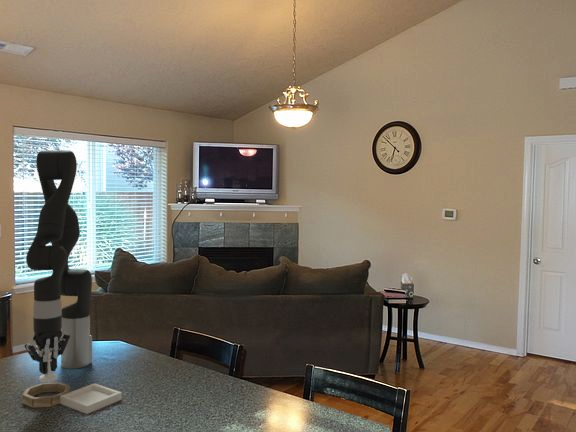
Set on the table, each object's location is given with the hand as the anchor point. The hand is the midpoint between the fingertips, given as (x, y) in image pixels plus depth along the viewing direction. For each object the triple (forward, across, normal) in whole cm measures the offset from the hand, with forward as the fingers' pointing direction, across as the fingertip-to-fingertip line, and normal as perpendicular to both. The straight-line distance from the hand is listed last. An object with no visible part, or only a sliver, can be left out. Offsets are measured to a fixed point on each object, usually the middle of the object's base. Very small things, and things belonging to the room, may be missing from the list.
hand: (48, 371), depth 156 cm
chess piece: (+2, 0, 0) cm, 2 cm away
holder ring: (+8, +1, 0) cm, 8 cm away
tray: (+8, -5, +12) cm, 15 cm away
